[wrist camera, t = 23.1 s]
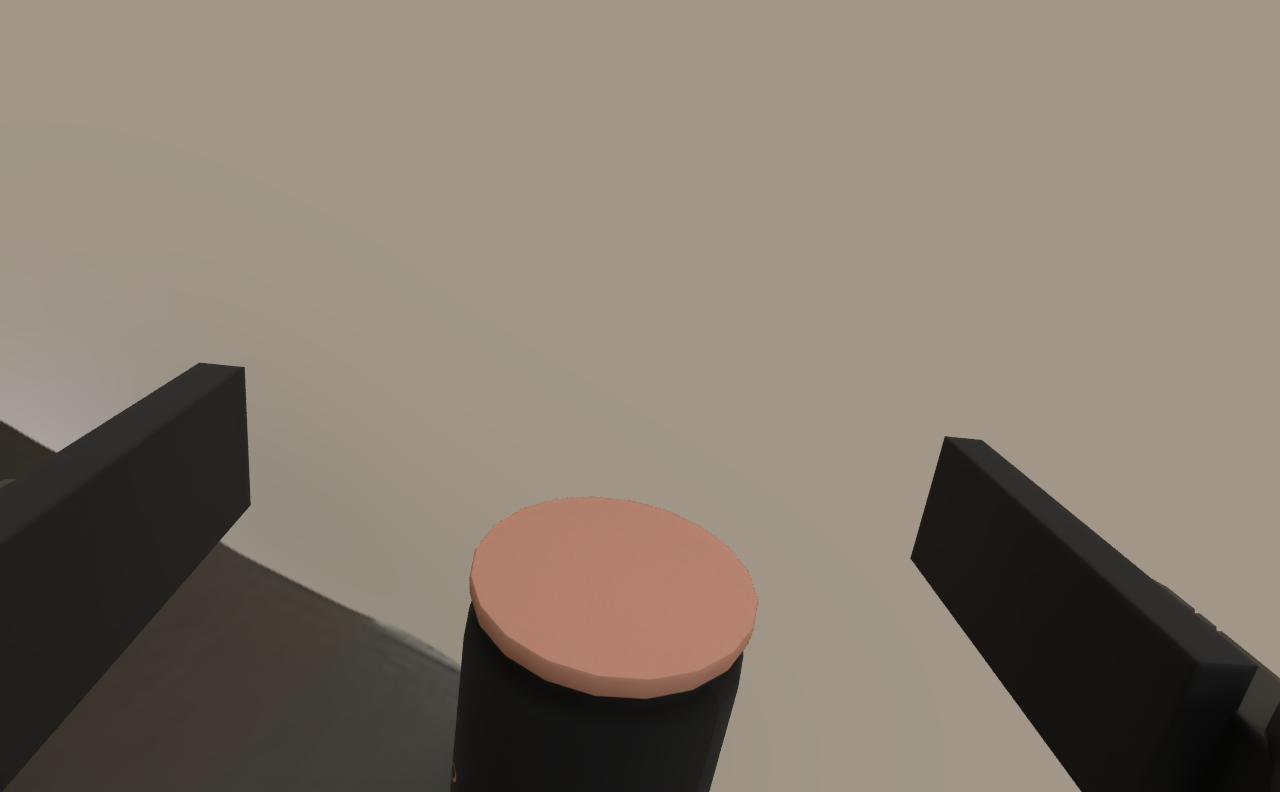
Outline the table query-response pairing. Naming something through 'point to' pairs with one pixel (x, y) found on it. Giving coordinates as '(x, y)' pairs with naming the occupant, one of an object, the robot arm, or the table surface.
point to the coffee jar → (599, 651)
